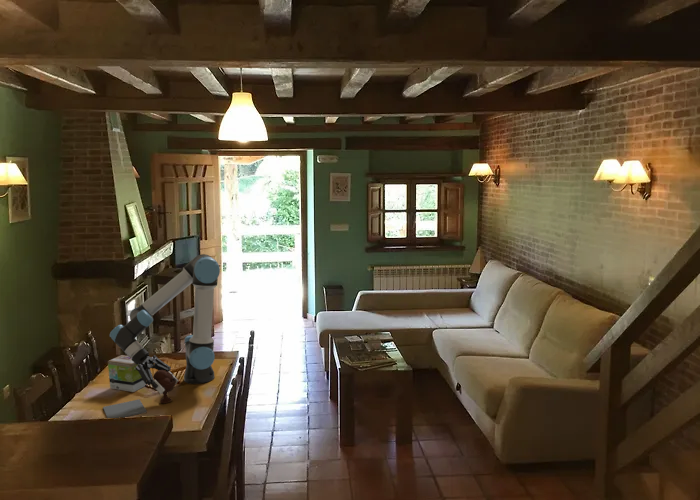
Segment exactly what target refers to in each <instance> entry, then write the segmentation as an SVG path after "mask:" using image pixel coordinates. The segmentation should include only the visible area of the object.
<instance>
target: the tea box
mask: <svg viewBox="0 0 700 500" xmlns="http://www.w3.org/2000/svg"><path fill="white" fill-rule="evenodd" d="M136 366H137V365H136V364H135V363H134V362H133V361H132V358H130V357H129V356H128V355H126V354H125V355H123V354H121V355H118V356H117V357H114V358H112V359H110V360H107V367H108V379H109V380H108V381H109V389H112V390H119V391H126V392H131V393H135V392H137V391H138V390H139V391H140V390H141V389H143V388H145V387H146V386H147V385H146V384H145V382H144V381H143V379H142V377H141V375H140V374H139V372H138V371H137V370H136V369H135V368H136ZM145 385H146V386H145Z"/></svg>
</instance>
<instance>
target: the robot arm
mask: <svg viewBox="0 0 700 500" xmlns="http://www.w3.org/2000/svg"><path fill="white" fill-rule="evenodd" d="M220 270H221V268H220V265H219V263H218V261H217V260H216V259H215V258H213V257H212V256H210V255H208V254H205V253H203V254H202V253H201V254H199V255H196V256H195V257H193V259H191V260H190V261H189V262H188V263H186V264H185V266H183V267H182V270H181V272H179V273H178V274H177V275H175V276H174V277H173V278H172V279H171V280H170V281H168V282H167V283H166V284H164V286H162V287H161V288H160V289H159V290H157V291H156V292H155V293H153V294H152V295H150V297H149V298H148V299H146V300H145V301H144V302H143V303H142V304H140V305H139V306H138V307H135V308H133V309H132V310H131V311H130V314H129V319H130V320H129V321H128V322H127V323H126V324H125V325H123V324H118V325H117V326H115V327H114V328H113V329H112V330H111V331H110V333H109V338H111V340H112V341H113V342H114V343H115V345H117V346H118V347H119V348H120V349H121V350H122V352H124V354H125V355H126V356H129V357H130V358H132V361H133V362H134V363H135V364H136V365H137V366H136V368H135V369H136V370H137V371H138V372H139V374H140V375H141V377H142V379H143V381H144V382H145V384H147V385H148V386H150V385H151V387H152V386H153V387H154V388H155V389H156V390H157V391H156V390H155V389H154V388H153V387H152V388H153V389H154V390H155V391H156V392H158V393H159V395H163V392H164V391H165V389H164V388H163V387H162V386H161V385H160V384H159V383H158V382H157V381H156V380H155V379H154V375H153V374H152V370H151V369H154V370H157V371H158V370H164V371H167V372H169V373H171V374H172V375H173V378H175V379H176V384H178V382H179V379H178V378H177V377H176V376H175V375H174V374H173V373H172V372H171V370H172V369H171V368H172V367H171V365H168V364H167V363H165V362H164V361H162V360H161V359H160V358H158V357H157V356H156V355H155V354H154V355H152V356H150V352H148V351H149V350H147V349H146V348H145V347H144V346H143V345H142V344H141V342H139V341H138V340H137V339H136V338H137V337H138V336H139V335H140V334H142V332H144V331H145V329H147V328H148V327H149V326H150V325H151V324H152V323H153V322H154V317H153V316H154V315H155V314H156V313H158V311H160V310H161V309H162V308H163V307H164V306H166V305H167V304H168V303H169V302H171V301H172V300H174V298H175V297H176V296H178V295H179V294H180V293H182V292H183V291H184V290H185V289H186V288H188V287H189V286H190V285H191V284H192V285H193V287H195V291H194V310H193V324H192V325H193V326H192V327H193V329H192V334H191V335H187V336H185V337H184V348H185V361H186V363H185V364H186V367H185V370H184V371H185V372H184V375H183V381H184V383H186V384H189V385H199V384H204V383H210V382H211V381H213V380H214V379H215V371H214V369H213V367H212V365H214V361H215V357H216V356H215V352H214V348H215V347H214V346H215V344H214V343H215V339H214V338H212V327H213V325H212V323H213V311H214V309H213V307H214V295H215V294H214V291H215V288H216V287H218V283H219V282H218V279H219V276H220Z"/></svg>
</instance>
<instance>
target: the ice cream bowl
mask: <svg viewBox="0 0 700 500" xmlns="http://www.w3.org/2000/svg"><path fill="white" fill-rule="evenodd" d="M171 373H172V372H171ZM171 373H169V372H167V371H164V370H157V371H155V372H154V375H153V379H154V380H156V381H157V382H158V383H159V384H160V385H161V386H162V387H163V388H164V389H165V391H164V392H163V393H162V395H163V397H162V398H161V399H159V403H161V404H168V403H171V402H172V401H173V399H172V398H171V397H169V396H168V393H169V392H171V391H172V390H173V389H174V388H175V386H176V385H177V383H176V379H175V378H173V375H174V374H173V373H172V374H173V375H172V374H171ZM151 387H152V388H153V390H154V391H156V392H158V391H157V390H156V389H155V388H154V387H153V386H152V385H151Z"/></svg>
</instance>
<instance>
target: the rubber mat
mask: <svg viewBox="0 0 700 500" xmlns="http://www.w3.org/2000/svg"><path fill="white" fill-rule="evenodd" d="M102 410H103V411H104V414H105V416H106V418H107V419H108V418H119V417H123V418H128V417H133V416H137V415H140V414H141V415H142V414H145V413H147V409H146V407H145V405H144V404H143V402H142V401H141V399H134V400H129V401H123V402H120V403H116V404H110V405H106V406H102ZM119 419H120V418H119Z"/></svg>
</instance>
